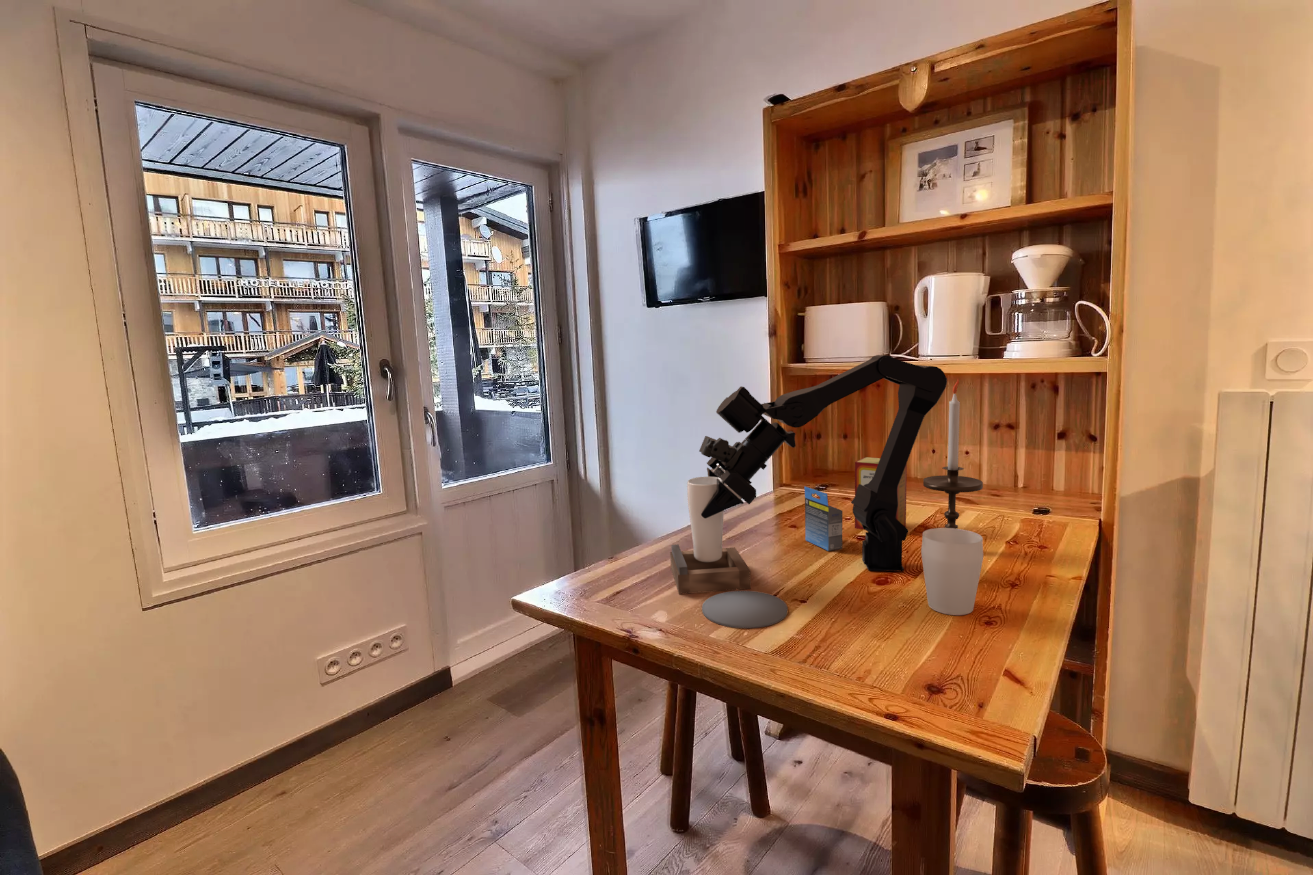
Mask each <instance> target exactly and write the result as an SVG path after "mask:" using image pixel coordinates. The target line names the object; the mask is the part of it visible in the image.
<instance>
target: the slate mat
mask: <svg viewBox="0 0 1313 875" xmlns="http://www.w3.org/2000/svg"><path fill="white" fill-rule="evenodd" d="M788 608H789V607H788V606H787V603H786V602H785V601H784V600H783V599H781V598H780V597H778V596H775V595H773V594H771V593H766V592H762V591H756V590H754V591H753V590H729V591H726V592H725V591H724V592H721V593H717V594H715V595H712V596H710V597H708V598H707V599H706V600H705V601H704V602H703V603H702V605H701V611H702V614H703V616H704V617H705V618H706V619H707V620H709V621H711V622H712V623H714V624H716V625H717V624H718V625H719V626H720V625H721V626H724V627H729V628H734V629H759V628H763V627H764V628H765V627H769V626H772V625H775V624H777V623H779V622H781V621H783V620H784V619H785V618H786V617H787V615H788Z"/></svg>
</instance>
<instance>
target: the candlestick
mask: <svg viewBox="0 0 1313 875" xmlns="http://www.w3.org/2000/svg"><path fill="white" fill-rule="evenodd" d="M959 384H960V380H959V378H957V380H956V382H955V384H954V385H953V387H952V398H951V400H949V406H948V407H949V408H948V409H949V410H948V443H947V444H948V445H947V446H948V448H947V466H943V467H941V468H942V469H943V470H946V475H944V474H943V475H933V476H932V475H931V476H927V477H924V478H923V480H922V481H923V484H922V485H923V487H924V488H926V489H929V490H933V491H937V492H944V493H945V494H948V502H947V503H948V507H947V508H948V509H947V510H945V511H944V513H943V516H944V518H945V519H947V521H946V523H945V524H944V528H955V529H959V525H957V524H956V523H957V520H958V519H959V517H960V513H959V512H958V511H956V507H957V506H956V505H957V504H956V503H957V502H956V500H957V495H958V494H959V495H960V493H974V492H977V491H978V492H979V491H982V490H983V488H984V487H983V486H984V482H983V481H982V480H980V479H978V478H976V477H975V478H974V477H970V476H965V475H964V476H963V475H959V471H963V470H965V468H964V467H961V466H959V448H960V447H959V444H960V442H959V441H960V440H959V438H960V437H959V436H960V409H961V405H960V404H961V402H960V401H959V400H958V397H957V392H958V386H959Z"/></svg>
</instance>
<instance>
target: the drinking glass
mask: <svg viewBox="0 0 1313 875" xmlns="http://www.w3.org/2000/svg"><path fill="white" fill-rule="evenodd" d="M717 479H719V480H720V481H721V482H722V483H723V481H722V480H721V478H717V477H708V476H698V477H693V478H689V479H688V480H687V483H686V484H687V486H686V487H687V491H686V492H687V507H688V513H689V522H690V530H691V538H692V545H693V546H692V547H693V548H692V550H694V557H695V559H696V560H698V561H701V562H714V561H717V560H719V559H720V558H721V557H722V548H723V536H724V535H723V534H724V533H723V532H724V518H725V517H724V516H725V510H724V511H722V512H719V513H717V514H715V515H712V516H710V517H708V518H703V517H702V516H701V513H702V512H703V510H704V508H705V507H706V505H707V504H708V502H709V501H710V499H711V498H712V496H713V495H714V493H715V492H716V490H717Z"/></svg>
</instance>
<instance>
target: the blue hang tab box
mask: <svg viewBox="0 0 1313 875" xmlns="http://www.w3.org/2000/svg"><path fill="white" fill-rule="evenodd" d="M803 487H804V488H803V489H804V516H805V517H804V518H805V519H804V522H805V523H804V526H805V528H804V529H805V534H804V535H805V536H804V537H805V542H808V543H811V544H813V545H815V546H817V547H820V548H822V549H823V550H825V551H826V552H830V551H831V552H832V551H838V550H843V510H842V509H839V508H837V507H834V506H832V505H829V499H828V493H826V492H823V491H820V490H817V489H814V488H811V487H808V486H806V485H804V486H803ZM813 495H814V496H813ZM815 495H816V496H817V497H816V496H815ZM818 497H819V498H818Z"/></svg>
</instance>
